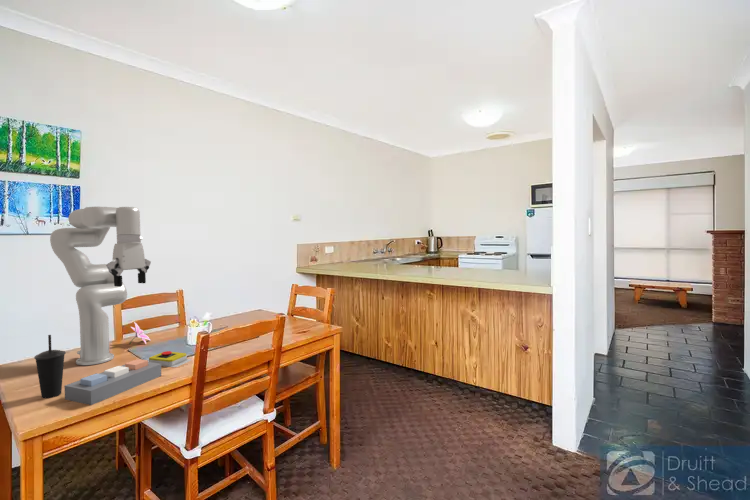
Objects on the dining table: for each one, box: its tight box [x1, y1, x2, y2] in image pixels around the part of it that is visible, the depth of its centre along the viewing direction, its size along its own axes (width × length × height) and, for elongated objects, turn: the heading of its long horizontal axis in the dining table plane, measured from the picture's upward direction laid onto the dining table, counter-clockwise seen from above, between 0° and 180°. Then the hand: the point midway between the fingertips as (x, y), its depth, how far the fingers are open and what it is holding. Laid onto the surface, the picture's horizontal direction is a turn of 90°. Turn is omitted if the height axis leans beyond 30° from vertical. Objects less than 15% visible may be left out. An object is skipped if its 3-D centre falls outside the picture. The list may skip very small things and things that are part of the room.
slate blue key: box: [80, 373, 107, 387], centre depth 120 cm, size 5×5×3 cm
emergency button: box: [148, 350, 192, 368], centre depth 152 cm, size 9×4×15 cm
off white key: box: [103, 365, 129, 378], centre depth 127 cm, size 5×5×3 cm
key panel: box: [63, 361, 162, 406], centre depth 127 cm, size 12×25×4 cm, turn 162°
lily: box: [129, 321, 152, 345], centre depth 177 cm, size 12×12×10 cm
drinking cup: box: [33, 334, 67, 399], centre depth 120 cm, size 8×8×20 cm
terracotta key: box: [124, 358, 149, 370], centre depth 134 cm, size 5×5×3 cm
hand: (130, 284), depth 139 cm, fingers open, 9 cm apart
